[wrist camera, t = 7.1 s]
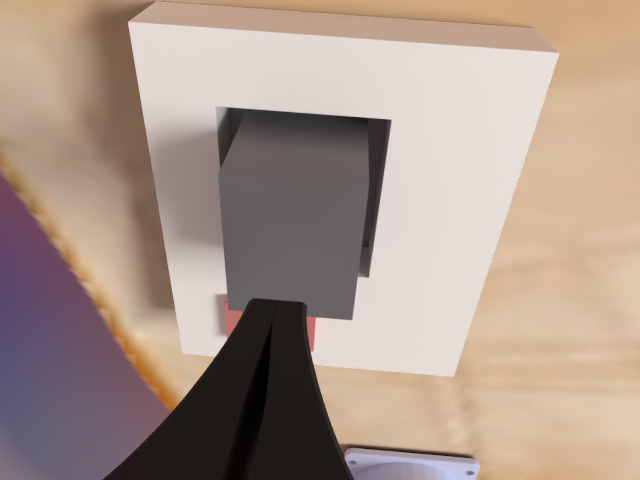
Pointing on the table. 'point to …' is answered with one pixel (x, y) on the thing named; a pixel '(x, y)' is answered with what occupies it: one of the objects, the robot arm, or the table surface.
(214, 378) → the robot arm
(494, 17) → the table surface
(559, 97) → the table surface
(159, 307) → the table surface
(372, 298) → the socket
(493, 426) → the table surface
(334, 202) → the plug
